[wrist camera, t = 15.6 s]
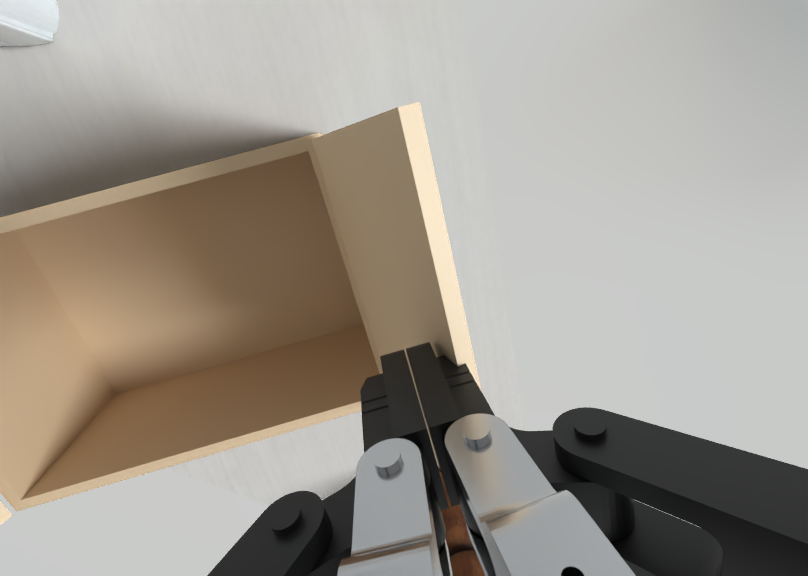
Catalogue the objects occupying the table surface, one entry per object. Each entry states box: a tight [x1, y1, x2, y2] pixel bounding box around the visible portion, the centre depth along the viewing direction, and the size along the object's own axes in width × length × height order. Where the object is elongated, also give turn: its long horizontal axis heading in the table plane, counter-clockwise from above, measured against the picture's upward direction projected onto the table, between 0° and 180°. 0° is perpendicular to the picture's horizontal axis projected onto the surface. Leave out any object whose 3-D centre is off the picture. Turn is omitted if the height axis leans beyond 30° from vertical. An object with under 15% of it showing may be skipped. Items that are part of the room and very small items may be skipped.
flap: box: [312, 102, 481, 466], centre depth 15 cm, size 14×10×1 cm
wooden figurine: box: [439, 471, 485, 576], centre depth 31 cm, size 7×6×15 cm
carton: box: [0, 133, 383, 511], centre depth 24 cm, size 14×21×10 cm, turn 104°
